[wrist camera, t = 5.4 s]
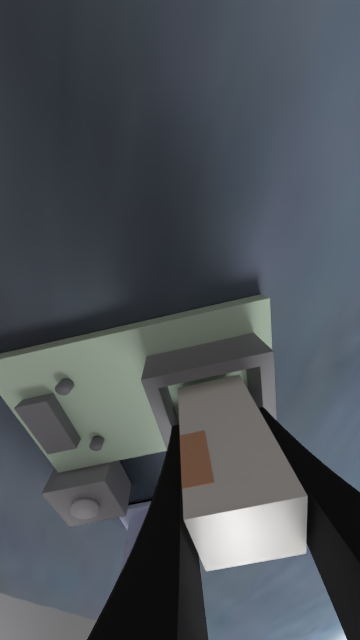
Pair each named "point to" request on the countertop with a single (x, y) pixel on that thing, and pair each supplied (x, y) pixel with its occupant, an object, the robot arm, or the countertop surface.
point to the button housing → (89, 493)
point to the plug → (236, 479)
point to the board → (134, 380)
